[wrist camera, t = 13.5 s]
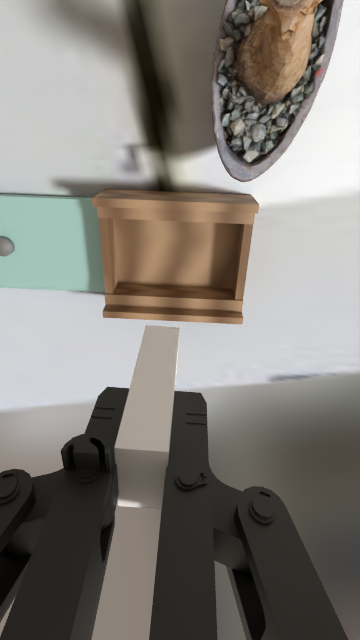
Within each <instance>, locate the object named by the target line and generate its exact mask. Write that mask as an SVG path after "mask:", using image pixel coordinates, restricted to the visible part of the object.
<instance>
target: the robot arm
mask: <svg viewBox="0 0 360 640" xmlns="http://www.w3.org/2000/svg"><path fill="white" fill-rule="evenodd" d="M179 329H180V328H176V327H162V326H148V325H146V327H145V331H144V335H143V339H142V343H141V347H140V351H139V354H138V358H137V362H136V366H135V370H134V374H133V378H132V381H131V385H130V389H129V388H116V387H107V388H106V389H105V390H104V391H103V392H102V393H101V394H100V395H99V396H98V399H97V401H96V404H95V407H94V409H93V412H92V415H91V418H90V420H89V423H88V426H87V429H86V431H85V434H81V435H79V436H76V437H74V438H72V439H71V440H70V441H68V442H67V443H66V444H65V445H64V447H63V448H62V450H61V455H62V461H63V466H64V468H62V469H61V470H59V471H56V472H53V473H50V474H46V475H42V476H37V477H32V478H31V476H30V474H29V473H27V472H25V471H24V470H19V469H11V470H7V471H3V472H1V473H0V622H1V620H2V618H3V617H4V615H5V613H6V612H7V610H8V608H9V607H10V605H11V603H12V602H13V600H14V598H15V600H14V603H13V605H12V608H11V611H10V613H9V616H8V618H7V621H6V624H5V626H4V629H3V631H2V634H1V637H0V640H91V639H92V634H93V629H94V624H95V619H96V614H97V609H98V604H99V600H100V595H101V590H102V585H103V580H104V575H105V570H106V565H107V560H108V555H109V551H110V546H111V541H112V536H113V531H114V526H115V514H114V513H115V509H116V504H117V499H118V506H127V507H141V508H155V509H162V511H161V522H160V533H159V543H158V553H157V564H156V575H155V584H154V595H153V606H152V616H151V626H150V637H149V640H217V622H216V596H215V595H216V593H215V568H214V567H215V566H214V560H215V561H217V562H219V563H221V564H224V565H226V567H227V570H228V574H229V578H230V581H231V585H232V589H233V592H234V596H235V600H236V603H237V607H238V611H239V614H240V618H241V622H242V625H243V629H244V632H245V636H246V640H348V638H347V636H346V634H345V632H344V630H343V627H342V625H341V623H340V621H339V619H338V617H337V615H336V613H335V610H334V608H333V606H332V604H331V602H330V600H329V598H328V596H327V594H326V591H325V589H324V587H323V585H322V583H321V581H320V578H319V576H318V574H317V572H316V570H315V568H314V566H313V564H312V561H311V559H310V557H309V555H308V553H307V551H306V549H305V547H304V544H303V542H302V540H301V538H300V536H299V534H298V532H297V530H296V528H295V525H294V523H293V521H292V519H291V517H290V515H289V513H288V510H287V508H286V506H285V505H284V503H283V502H282V500H281V499H280V497H279V496H277V495H276V494H275V493H274V492H273V491H271V490H269V489H266V488H264V487H254V486H253V487H250V488H247V489H245V490H244V491H243V492H242V491H240V490H237V489H235V488H232V487H230V486H227V485H226V484H224V483H222V482H221V481H220V480H218V479H217V478H216V477H215V475H214V474H213V473H212V471H211V469H210V467H209V461H208V434H207V406H206V405H207V404H206V401H205V400H204V398H203V396H202V394H201V393H196V392H182V391H175V388H176V376H177V360H178V344H179Z"/></svg>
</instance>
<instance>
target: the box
mask: <svg viewBox="0 0 360 640" xmlns="http://www.w3.org/2000/svg"><path fill="white" fill-rule="evenodd" d="M92 206H93V207H97V214H98V218H99V228H100V239H101V251H102V262H103V273H104V284H105V303H106V306H105V308H104V310H103V317H104V318H125V319H145V320H165V321H186V322H206V323H226V324H242V322H243V316H242V305H243V294H244V287H245V280H246V272H247V265H248V258H249V251H250V243H251V236H252V229H253V224H254V218H255V213H258V209H259V204H258V203H257V201H256V200H255V199H254V198H253V197H252V195H242V194H217V193H192V192H167V191H141V190H116V189H105V190H103V191H102V192H100V193H99V194H97V195H95V196H94V197H92Z"/></svg>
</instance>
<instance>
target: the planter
mask: <svg viewBox="0 0 360 640" xmlns="http://www.w3.org/2000/svg"><path fill="white" fill-rule="evenodd" d="M342 5H343V0H227V1H226V4H225V8H224V11H223V14H222V19H221V23H220V28H219V32H218V37H217V42H216V48H215V54H214V65H213V77H212V116H213V129H214V135H215V140H216V144H217V149H218V153H219V155H220V158H221V161H222V163H223V165H224V167H225V169H226V171H227V172H228V173H229V174H230V176H231V177H233V178H234V179H236V180H238V181H240V182H247V181H251V180H253V179H255V178H257V177H258V176H260V175H261V174H263V173H264V172H265V171H267V170H268V169H269V168H270V167H271V166H272V165H273V164H274V163H275V162H276V161H277V160H278V159H279V158H280V157H281V155H282V154H283V153H284V152H285V151H286V150H287V148H288V147H289V145H290V144H291V142H292V141H293V139H294V137H295V136H296V134H297V132H298V131H299V129H300V127H301V126H302V124H303V122H304V120H305V119H306V117H307V115H308V113H309V111H310V109H311V107H312V104H313V102H314V100H315V97H316V95H317V92H318V90H319V88H320V86H321V83H322V81H323V79H324V77H325V74H326V71H327V68H328V65H329V62H330V59H331V55H332V52H333V48H334V44H335V40H336V36H337V31H338V26H339V21H340V16H341V10H342Z"/></svg>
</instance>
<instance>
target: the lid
mask: <svg viewBox="0 0 360 640" xmlns="http://www.w3.org/2000/svg"><path fill="white" fill-rule="evenodd" d="M0 287H1V288H22V289H44V290H66V291H88V292H105V284H104V273H103V262H102V251H101V239H100V228H99V218H98V214H97V207H93V206H92V198H88V197H63V196H39V195H14V194H0Z"/></svg>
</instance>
